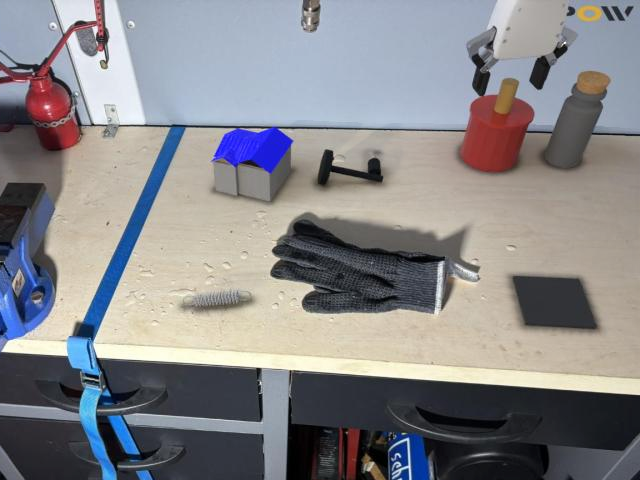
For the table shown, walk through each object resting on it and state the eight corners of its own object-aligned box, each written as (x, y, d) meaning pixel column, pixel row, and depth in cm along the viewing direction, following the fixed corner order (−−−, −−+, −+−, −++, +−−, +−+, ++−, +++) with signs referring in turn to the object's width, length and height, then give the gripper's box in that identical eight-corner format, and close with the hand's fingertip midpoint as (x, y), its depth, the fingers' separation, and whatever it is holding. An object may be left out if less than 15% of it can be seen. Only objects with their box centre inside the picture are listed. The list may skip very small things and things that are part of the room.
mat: (578, 280, 86) (579, 278, 86) (595, 328, 80) (597, 327, 80) (512, 277, 87) (513, 275, 87) (525, 325, 81) (526, 323, 81)
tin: (510, 142, 110) (524, 99, 104) (520, 172, 104) (536, 129, 97) (457, 140, 111) (468, 98, 105) (464, 171, 105) (476, 127, 98)
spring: (183, 311, 86) (181, 301, 84) (183, 300, 87) (181, 291, 86) (251, 305, 86) (251, 295, 84) (250, 294, 87) (250, 285, 86)
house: (213, 191, 104) (209, 151, 98) (239, 157, 110) (237, 118, 105) (269, 205, 101) (269, 165, 95) (293, 169, 107) (294, 130, 101)
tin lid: (525, 101, 104) (537, 66, 100) (538, 133, 97) (551, 98, 93) (464, 100, 105) (473, 66, 101) (473, 132, 99) (482, 97, 94)
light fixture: (374, 161, 111) (377, 203, 103) (318, 149, 111) (317, 190, 102) (385, 133, 107) (389, 174, 98) (327, 121, 107) (326, 162, 98)
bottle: (536, 154, 107) (566, 74, 96) (561, 145, 108) (594, 65, 97) (561, 171, 103) (595, 90, 92) (587, 162, 105) (623, 81, 94)
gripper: (585, -39, 88) (546, 72, 101) (472, -28, 87) (446, 83, 100) (614, -20, 83) (569, 94, 96) (495, -8, 82) (464, 106, 95)
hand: (506, 89), depth 98 cm, fingers open, 9 cm apart
